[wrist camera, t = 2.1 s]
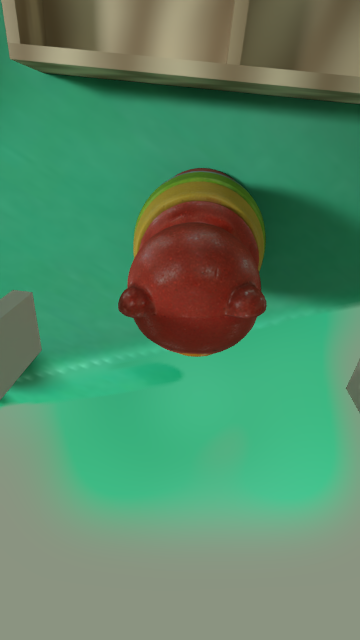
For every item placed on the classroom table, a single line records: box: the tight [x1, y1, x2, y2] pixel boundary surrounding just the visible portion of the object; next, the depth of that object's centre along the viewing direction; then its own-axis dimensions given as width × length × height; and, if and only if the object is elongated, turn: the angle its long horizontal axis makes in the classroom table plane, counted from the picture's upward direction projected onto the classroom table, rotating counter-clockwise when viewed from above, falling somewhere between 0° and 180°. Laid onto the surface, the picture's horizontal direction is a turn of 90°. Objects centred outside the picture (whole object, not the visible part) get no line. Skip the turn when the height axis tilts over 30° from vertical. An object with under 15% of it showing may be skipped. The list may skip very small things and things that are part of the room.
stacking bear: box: [118, 168, 266, 357], centre depth 21 cm, size 11×10×18 cm
